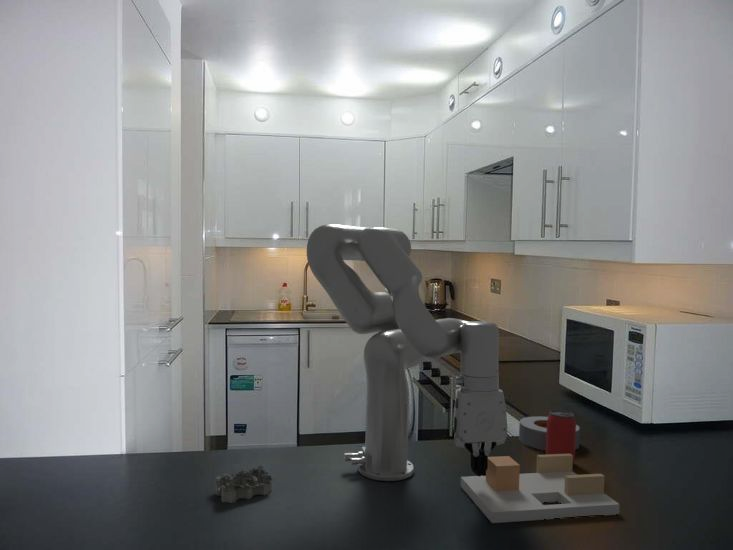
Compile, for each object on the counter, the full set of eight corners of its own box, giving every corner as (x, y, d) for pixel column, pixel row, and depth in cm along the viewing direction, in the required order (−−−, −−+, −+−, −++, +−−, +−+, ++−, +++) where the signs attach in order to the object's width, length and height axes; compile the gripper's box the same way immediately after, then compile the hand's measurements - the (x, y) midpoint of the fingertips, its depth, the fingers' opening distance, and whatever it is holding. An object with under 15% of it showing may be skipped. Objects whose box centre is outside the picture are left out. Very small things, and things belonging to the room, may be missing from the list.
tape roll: (512, 432, 152) (513, 414, 151) (567, 434, 151) (568, 416, 151) (527, 451, 136) (528, 432, 136) (588, 454, 136) (589, 434, 136)
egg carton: (222, 506, 102) (222, 485, 102) (212, 491, 108) (212, 471, 108) (275, 495, 107) (276, 474, 107) (262, 481, 114) (263, 462, 114)
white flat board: (492, 523, 98) (493, 493, 98) (458, 483, 115) (459, 458, 115) (619, 514, 103) (620, 486, 103) (568, 477, 120) (569, 453, 120)
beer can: (576, 469, 125) (578, 418, 125) (547, 466, 126) (549, 415, 126) (571, 458, 132) (573, 410, 131) (543, 456, 133) (545, 408, 132)
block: (495, 491, 107) (496, 466, 107) (485, 480, 112) (486, 457, 112) (518, 489, 108) (519, 465, 108) (507, 479, 113) (508, 456, 113)
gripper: (450, 388, 103) (450, 483, 103) (522, 385, 106) (522, 478, 106) (438, 380, 110) (437, 469, 111) (505, 378, 113) (505, 464, 113)
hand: (479, 473), depth 108 cm, fingers closed
